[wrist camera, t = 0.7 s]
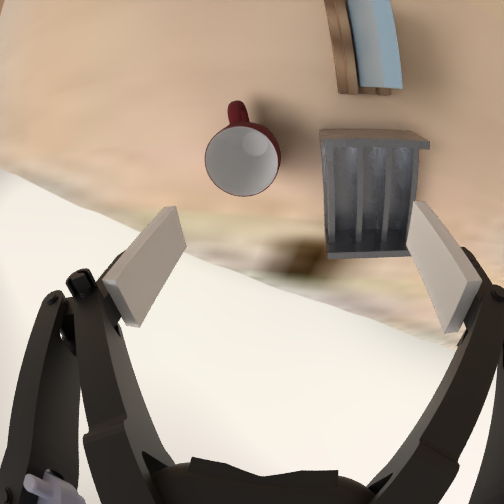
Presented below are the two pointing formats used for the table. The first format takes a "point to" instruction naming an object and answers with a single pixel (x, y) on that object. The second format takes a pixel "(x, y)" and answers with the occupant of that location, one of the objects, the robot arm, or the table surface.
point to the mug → (242, 155)
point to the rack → (369, 190)
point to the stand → (345, 51)
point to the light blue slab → (375, 43)
